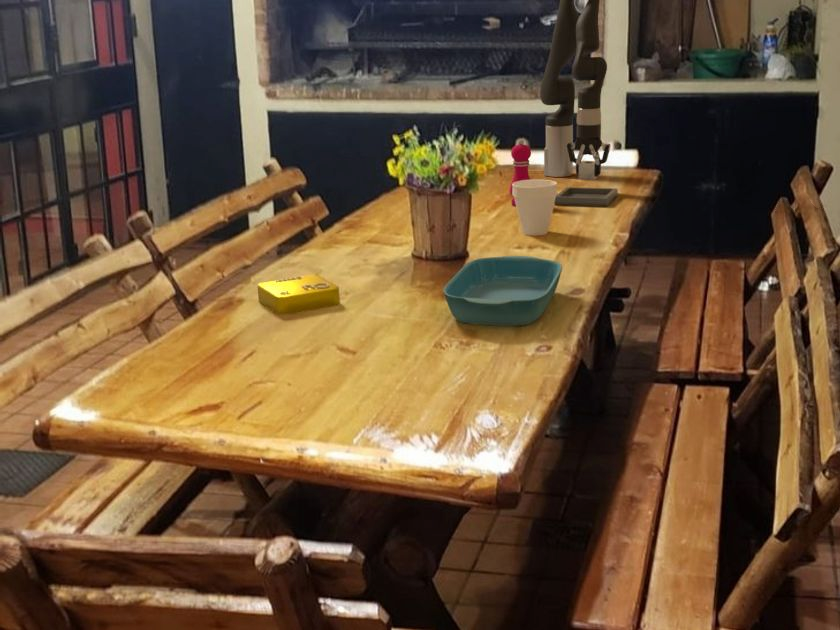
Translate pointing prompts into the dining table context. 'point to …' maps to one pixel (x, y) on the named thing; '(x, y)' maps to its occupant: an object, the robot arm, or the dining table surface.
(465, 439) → the dining table surface
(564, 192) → the tray
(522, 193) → the cup
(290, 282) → the element tile
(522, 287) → the casserole dish
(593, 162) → the grey dotted cube
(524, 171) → the pepper mill
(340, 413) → the dining table surface
